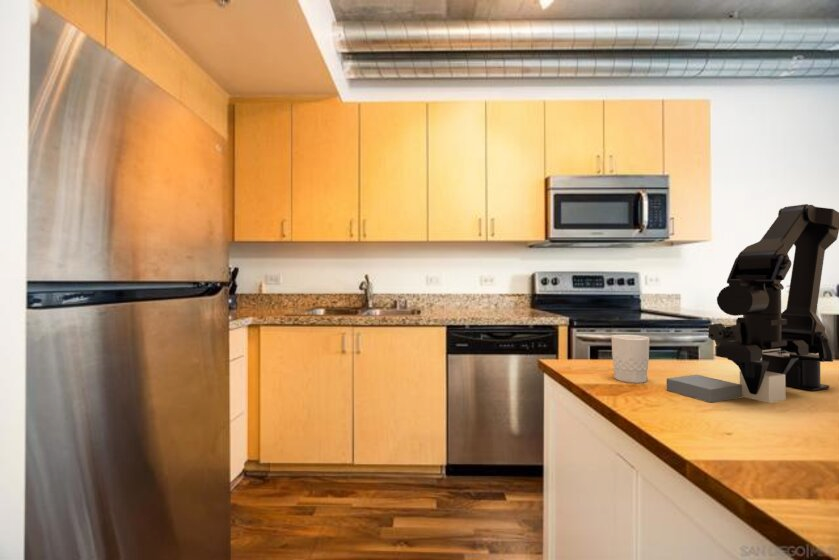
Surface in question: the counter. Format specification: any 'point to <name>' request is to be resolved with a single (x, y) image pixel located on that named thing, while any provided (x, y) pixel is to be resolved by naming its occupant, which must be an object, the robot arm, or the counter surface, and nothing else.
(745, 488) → the counter surface
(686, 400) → the counter surface
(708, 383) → the base
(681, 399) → the counter surface
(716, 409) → the counter surface
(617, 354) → the white cup
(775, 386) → the cube
